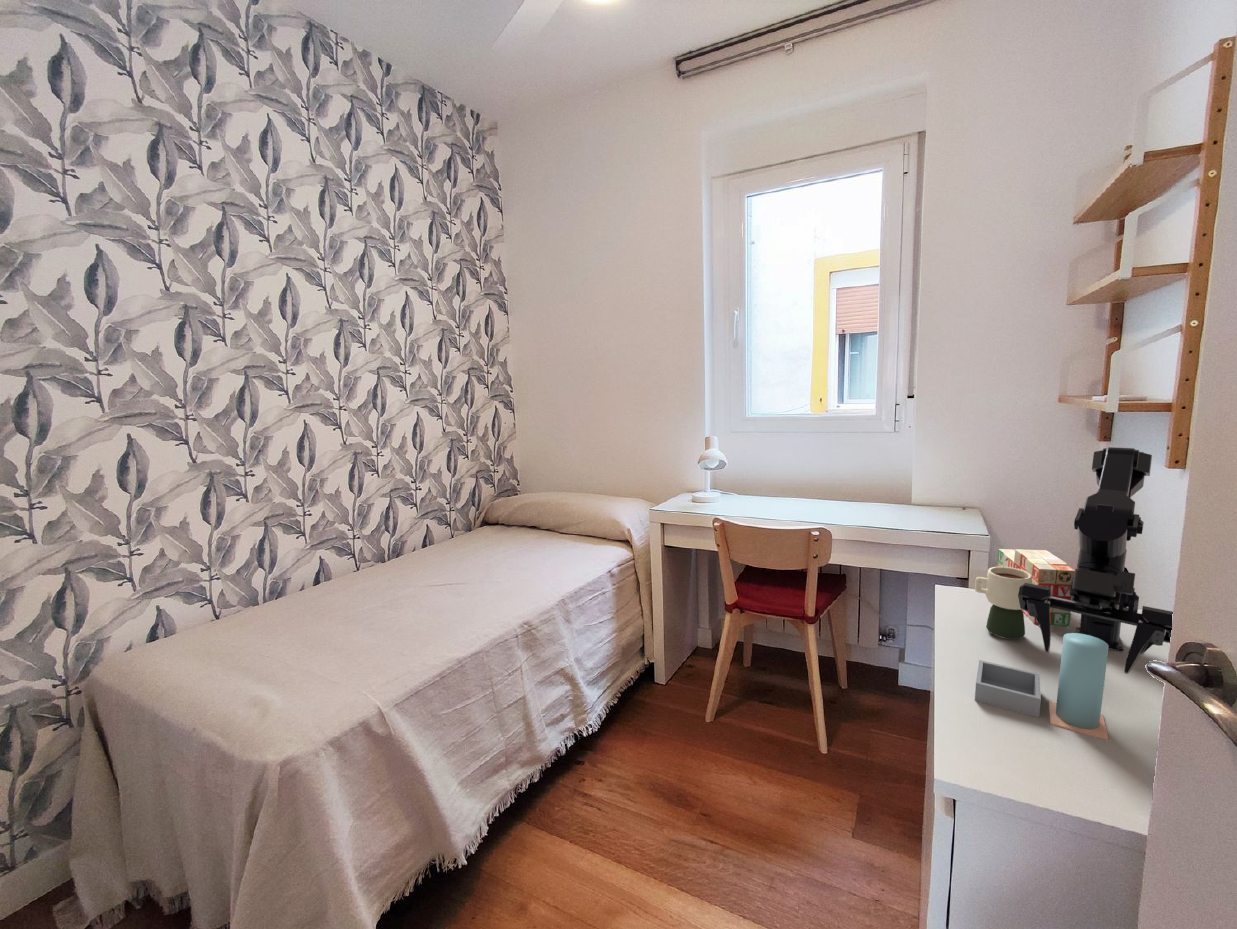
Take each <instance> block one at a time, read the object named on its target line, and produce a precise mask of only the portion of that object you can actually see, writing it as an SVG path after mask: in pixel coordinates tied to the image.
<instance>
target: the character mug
mask: <svg viewBox="0 0 1237 929" xmlns="http://www.w3.org/2000/svg"><path fill="white" fill-rule="evenodd" d="M986 576H987V577H982V576H977V577H976V578H975V580H974V581H975V582H974V590H975V592H976V593H979V594H985V596H986V599H987V601H988V602H989V603H990V604H992V605H991V606H990V607H989V608H990V609H989V613H988V616H987V621H986V626H985V628H986V629H987V630H988V632H990V633H991V634H992V635H994V636H997V637H999V638H1002V639H1007V640H1018V639H1022V638H1024V637H1025V635H1026V627H1025V614H1024V613H1023V611H1022V609H1021V608H1020V603H1019V598H1018V593H1019V588H1020V586H1021V585H1023V584H1024V583H1029V584H1032V575H1031V574H1030V573H1028V572H1026V571H1023V570H1020V569H1016V568H1011V567H998V566H994V567H989V568H988V569H987V575H986ZM982 583H986V588H982Z"/></svg>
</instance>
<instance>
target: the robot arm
mask: <svg viewBox="0 0 1237 929" xmlns="http://www.w3.org/2000/svg"><path fill="white" fill-rule="evenodd" d="M1092 456H1093V457H1092V464H1091V471H1092V472H1093V473H1095V478H1096V485H1097V486H1098V487H1097V491H1096V493H1093V494H1092V495H1089V496H1087V497H1086V499H1085V502H1084V507H1079V508H1078V511H1077V514H1076V516H1075V519H1074V520H1073V521H1074V524H1073V525H1074V530H1077V533H1078V534H1077V537H1078V546H1079V553H1078V557H1077V562H1076V568H1075V569H1074V570H1075V574H1074V577H1073V579H1072V582H1071V588H1070V595H1071V599H1066V598H1061V597H1056V596H1051V589H1050V588H1049V587H1044V586H1039V585H1034V584H1029V583H1024V584H1023V585H1021V586H1020V588H1019V593H1018V598H1019V603H1020V608H1021V609H1023V610H1025V611H1028V613H1029V615H1030V616H1032V617H1035V618H1036V619H1037V621H1038V624H1037V625H1038V626H1039V629H1040V631H1041V636H1042V641H1043V646H1044V651H1045V653H1046V654H1049V653H1050V649H1051V640H1052V639H1051V633H1052V631H1051V630H1052V628H1051V627H1052V625H1051V614H1050V609H1051V608H1056V609H1060V610H1065V611H1070V613H1076V614H1080V623H1079V627H1078V626H1076V627H1075V630H1074V631H1075V633H1080V634H1086V635H1090V636H1093V637H1096V638H1099V639H1101V640H1103V641H1104V642H1106V643H1107V644H1108V646H1109V648H1108V650H1109V649H1110V650H1113V651H1120V652H1124V651H1125V650H1124V649H1125V648H1124V645H1123V642H1122V640H1121V635H1120V634H1121V626H1122V624H1126V625H1131V626H1135V628H1136V629H1135V631H1134V634H1133V637H1132V641H1131V644H1130V646H1129V650H1128V654H1127V656H1126V659H1125V664H1124V665H1125V666H1124V672H1123V673H1124V674H1127V675H1129V673H1130V672H1131V670H1132V669H1133V667H1134V666H1135V665H1136V664H1137V662H1138V660H1140V658H1141V657H1142V655H1144V654H1145V653H1146V652H1147V650H1149V649H1150V648H1151V647H1152V646H1159V647H1161V646H1163V645H1164V643H1167V644H1171V643H1170V637H1171V630H1172V614H1173V612H1174V611H1172V610H1166V609H1161V608H1157V607H1151V606H1147V605H1146V606H1145V605H1143V606H1142V609H1141V613H1139V612H1138V610H1139V602H1140V596H1139V595H1138V594H1137V592H1136V591H1135V590H1136V589H1135V588H1136V587H1135V579H1136V572H1129V570H1128V568H1127V567H1126V566H1125V565H1126V564H1125V563H1126V558H1127V541H1128V542H1129V541H1131V539H1132V538H1137V536H1138V535H1142V534H1143V532H1144V531H1143V530H1144V524H1145V522H1144V521H1143V520H1142V518H1141V517H1140V514H1137V513H1135V508H1136V507H1135V506H1136V501H1134V499H1132V497H1134V495H1135V494H1136V493H1137V492H1140V490H1142V488H1143V487H1144V484H1145V477H1150V476H1151V468H1152V458H1153V455H1152V454H1150V453H1145V452H1144V451H1140V450H1139V449H1135V448H1134V447H1133V448H1132V447H1131V448H1130V447H1115V446H1114V447H1112V446H1109V447H1106V448H1103V449H1102V450H1097V451H1094V452H1093V454H1092Z"/></svg>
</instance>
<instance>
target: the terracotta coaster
mask: <svg viewBox="0 0 1237 929" xmlns="http://www.w3.org/2000/svg"><path fill="white" fill-rule="evenodd" d="M1056 704H1057V702H1056V701H1055V702H1054V701H1051V700H1049V701H1048V709H1049V710H1048V712H1049V723H1050V725H1052V726H1055V727H1059V728H1062V729H1065V730H1070V731H1073V732H1077V733H1081V734H1085V735H1088V736H1092V737H1095V738H1100V739H1103V740H1107V741H1108V740H1109V737H1108V731H1107V727H1106V722H1105V717H1104V715H1103V714H1102V713H1101V715H1100V723H1099V727H1098V728H1096V729H1082V728H1078V727H1075V726H1072V725H1070V724H1067V723H1066V722H1064V721H1062V720H1061V719H1060V718H1058V717H1057V715H1056Z"/></svg>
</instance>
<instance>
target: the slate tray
mask: <svg viewBox="0 0 1237 929" xmlns="http://www.w3.org/2000/svg"><path fill="white" fill-rule="evenodd" d="M1040 677H1041V675H1040V673H1038V672H1033V671H1029V670H1024V669H1021V668H1017V667H1016V668H1015V667H1012V666H1007V665H1003V664H998V663H994V662H990V661H985V660H982V659H979V660H978V666H977V674H976V680H975V692H974V693H975V694H974V701H976V702H981V703H984V704H988V705H990V706H991V705H992V706H995V707H999V708H1003V709H1006V710H1008V711H1009V710H1010V711H1013V712H1018V713H1020V714H1021V713H1022V714H1025V715H1029V716H1033V717H1036V718H1040V715H1041V714H1040V711H1041V701H1042V698H1041V697H1042V694H1041V693H1042V691H1041V678H1040Z"/></svg>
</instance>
